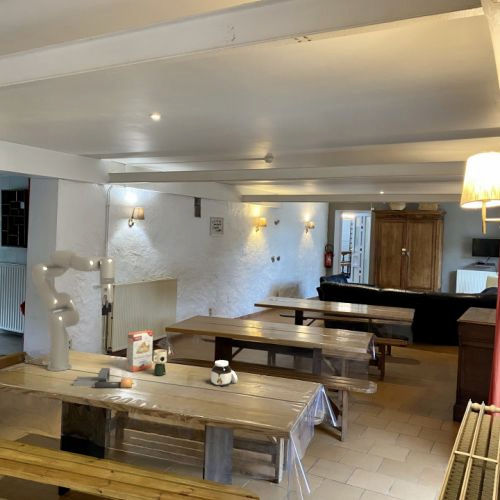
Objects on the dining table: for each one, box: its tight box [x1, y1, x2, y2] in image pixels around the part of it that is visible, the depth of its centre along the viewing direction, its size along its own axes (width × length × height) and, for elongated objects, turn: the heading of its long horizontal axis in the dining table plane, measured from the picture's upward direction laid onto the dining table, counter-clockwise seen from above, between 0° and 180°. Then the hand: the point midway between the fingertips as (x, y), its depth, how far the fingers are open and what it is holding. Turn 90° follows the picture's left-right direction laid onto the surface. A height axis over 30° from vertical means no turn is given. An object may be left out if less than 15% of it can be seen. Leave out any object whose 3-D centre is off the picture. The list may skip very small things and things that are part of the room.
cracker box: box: [125, 329, 154, 373], centre depth 272 cm, size 14×6×21 cm, turn 143°
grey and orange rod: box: [94, 377, 135, 389], centre depth 239 cm, size 19×4×4 cm, turn 96°
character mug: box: [152, 349, 168, 376], centre depth 262 cm, size 11×7×13 cm, turn 152°
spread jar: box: [210, 359, 239, 387], centre depth 249 cm, size 12×11×12 cm
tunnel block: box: [72, 367, 111, 387], centre depth 246 cm, size 16×10×6 cm, turn 96°
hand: (106, 313), depth 256 cm, fingers open, 9 cm apart
